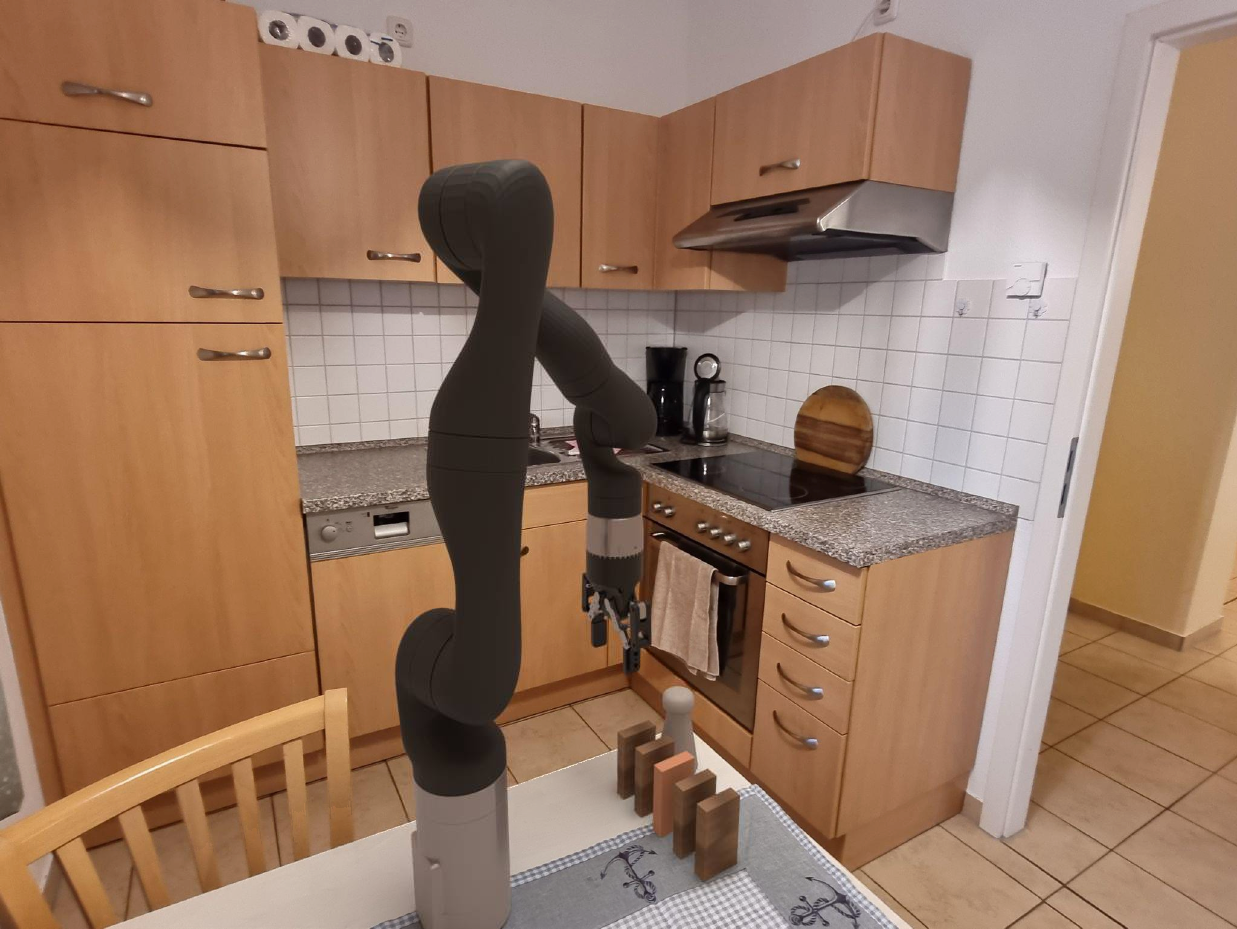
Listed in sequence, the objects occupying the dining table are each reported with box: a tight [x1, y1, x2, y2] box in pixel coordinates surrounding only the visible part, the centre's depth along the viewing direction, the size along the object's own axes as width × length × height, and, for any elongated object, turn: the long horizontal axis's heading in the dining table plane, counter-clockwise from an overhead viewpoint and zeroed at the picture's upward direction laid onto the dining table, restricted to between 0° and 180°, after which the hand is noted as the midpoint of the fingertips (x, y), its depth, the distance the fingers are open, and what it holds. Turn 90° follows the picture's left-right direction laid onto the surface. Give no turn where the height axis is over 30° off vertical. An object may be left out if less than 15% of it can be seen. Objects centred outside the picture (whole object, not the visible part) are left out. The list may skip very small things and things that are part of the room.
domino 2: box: [633, 735, 675, 819], centre depth 88 cm, size 5×2×9 cm, turn 123°
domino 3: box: [652, 751, 695, 838], centre depth 85 cm, size 5×2×9 cm, turn 124°
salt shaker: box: [660, 685, 699, 775], centre depth 93 cm, size 6×6×13 cm
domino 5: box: [694, 786, 741, 883], centre depth 78 cm, size 5×2×9 cm, turn 123°
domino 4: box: [672, 768, 718, 860], centre depth 81 cm, size 5×2×9 cm, turn 123°
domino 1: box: [616, 719, 657, 801], centre depth 91 cm, size 5×2×9 cm, turn 123°
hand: (614, 658), depth 94 cm, fingers open, 8 cm apart
